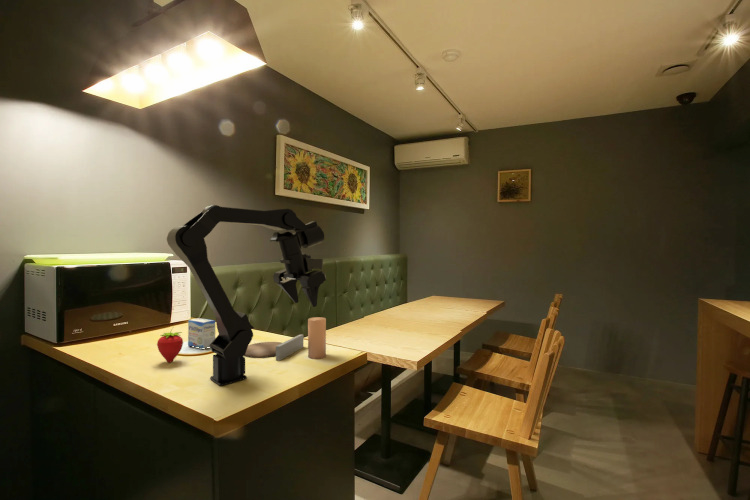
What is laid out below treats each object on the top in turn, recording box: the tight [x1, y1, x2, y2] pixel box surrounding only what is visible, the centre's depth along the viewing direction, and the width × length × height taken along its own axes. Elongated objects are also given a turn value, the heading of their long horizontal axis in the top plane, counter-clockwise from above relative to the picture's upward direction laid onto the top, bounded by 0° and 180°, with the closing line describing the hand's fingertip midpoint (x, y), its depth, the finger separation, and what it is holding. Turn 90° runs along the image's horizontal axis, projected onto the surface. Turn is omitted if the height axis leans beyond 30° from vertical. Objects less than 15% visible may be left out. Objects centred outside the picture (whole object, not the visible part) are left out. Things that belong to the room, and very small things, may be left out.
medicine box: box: [187, 317, 216, 348], centre depth 114 cm, size 8×4×9 cm, turn 62°
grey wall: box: [275, 334, 304, 361], centre depth 106 cm, size 14×1×4 cm, turn 163°
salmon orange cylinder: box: [307, 316, 327, 360], centre depth 104 cm, size 5×5×11 cm
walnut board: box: [244, 341, 282, 359], centre depth 109 cm, size 14×14×1 cm
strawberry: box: [156, 326, 184, 364], centre depth 98 cm, size 6×8×10 cm
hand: (305, 304), depth 101 cm, fingers open, 9 cm apart
